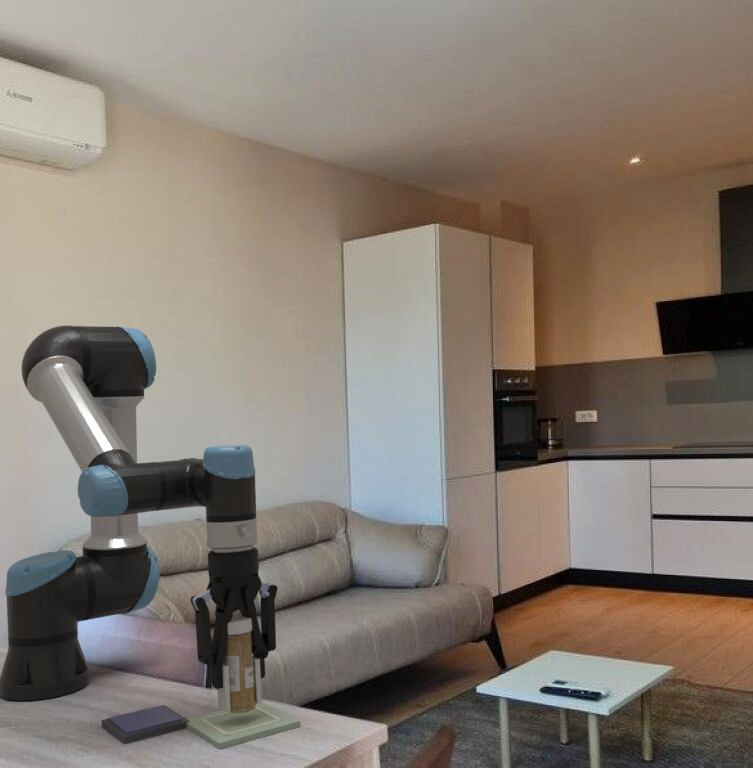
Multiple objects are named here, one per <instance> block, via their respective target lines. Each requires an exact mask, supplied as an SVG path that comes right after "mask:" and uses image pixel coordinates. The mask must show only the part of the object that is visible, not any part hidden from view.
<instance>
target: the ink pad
mask: <svg viewBox="0 0 753 768" xmlns="http://www.w3.org/2000/svg"><path fill="white" fill-rule="evenodd" d="M188 719H189V718H186V717H185V716H183V715H182V714H180V713H178V712H177V711H175V710H173V709H171V708H170V707H169V706H167V705H165V704H161V705H156V706H152V707H149V708H144V709H141V710H140V709H139V710H136V711H131V712H128V713H123V714H118V715H115V716H110V717H109V718H104V719H101V727H102V728H103V729H104V730H105V731H107V732H108V733H110V735H112V736H113V737H115V738H116V739H117V740H119V742H121V743H122V744H123V745H127V744H131V743H134V742H138V741H143V740H145V739H150V738H153V737H154V738H155V737H157V736H161V735H164V734H169V733H173V732H177V731H180V730H181V731H182V730H185V729H187V726H186V723H187V722H189V720H188Z"/></svg>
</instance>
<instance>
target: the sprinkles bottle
mask: <svg viewBox="0 0 753 768" xmlns="http://www.w3.org/2000/svg"><path fill="white" fill-rule="evenodd" d="M251 630H252V619H251V618H247V617H244V616H242V615H235V616H232V619H231V620H230V622H229V623H228V638H227V645H226V651H225V658H224V664H225V665H228V666H229V683H230V705H231V711H228V712H230V713H245V712H249V711H251V710H253V709H254V708H255V705H256V703H255V698H254V675H253V654H252V644H251Z"/></svg>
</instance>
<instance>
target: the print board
mask: <svg viewBox="0 0 753 768" xmlns="http://www.w3.org/2000/svg"><path fill="white" fill-rule="evenodd" d="M187 719H188V720H189V722H187V723H186V726H187V728H186V729H188V730H189V731H191V732H192V733H194V734H195V735H197V736H199V737H200V738H202V739H203V740H205V741H206V742H207V743H209V744H211V745H213V746H214V747H216V748H217V749H219V750H222V749H224V748H225V749H226V748H229V747H233V746H236V745H239V744H242V743H246V742H247V743H248V742H250V741H253V740H257V739H261V738H264V737H268V736H271V735H275V734H277V733H281V732H285V731H289V730H293V729H296V728H298V727H299V728H301V725H302V724H301V720H300V719H298V718H295V717H294V716H292V715H290V714H287V713H286V712H285V711H284V712H283V711H282V710H280V709H277V708H275V707H274V706H271V705H269V704H267V703H265V702H263V701H262V703H259V704H257V703H256V705H255V708H254V709H253V710H251V711H249V712H245V713H230V712H225V711H223V710H222V709H219V710H216V711H213V712H210V713H209V712H208V713H204V714H202V715H198V716H193V717H189V718H187Z"/></svg>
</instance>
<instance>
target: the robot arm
mask: <svg viewBox="0 0 753 768" xmlns="http://www.w3.org/2000/svg"><path fill="white" fill-rule="evenodd" d="M156 374H157V361H156V355H155V351H154V348H153V345H152V343H151V341H150V340H149V338H148V336H147V335H146V334H145V333H144V332H143V331H141V330H140V329H137V328H134V327H133V328H131V327H124V326H89V325H88V326H87V325H86V326H85V325H79V326H78V325H76V326H75V325H58V326H54V327H52V328H49V329H47V330H44V331H43V332H42V333H40V334H39V335H38V336H36V337H35V338H34V339H33V340H32V341H31V343H30V344H29V346H28V347H27V348H26V350H25V352H24V355H23V358H22V361H21V377H22V380H23V384H24V385H25V386H24V387H25V388H26V390H27V392H28V393H29V395H30V396H31V397H32V398H33V399H34V400H36V401H38V402H40V403H41V404H42V405H43V406H44V408H45V410H46V413H48V415H49V417H50V418H51V421H52V422H53V424H54V426H55V427H56V429H57V431H58V433H59V434H60V436H61V438H62V440H63V441H64V443H65V445H66V446H67V449H68V450H69V451H70V454H71V455H72V457H73V459H74V461H75V462H76V464H77V466H78V468H79V469H80V471H81V473H80V475H79V478H78V481H77V496H78V499H79V504H80V505H79V506H80V507H81V509H82V511H83V512H84V513H85V514H86V515H87V516H89V517H90V536H89V537H88V538H87V539H86V540H85V541H84V542H83V543H82V555H81V556H76V554H75V552H74V551H73V550H70V549H69V550H66V549H65V550H64V549H62V550H56V551H52V552H51V551H48V552H44V553H39V554H36V555H31V556H29V557H26V558H23V559H20V560H18V561H16V562H14V563H13V564H12V565H10V566H9V568H8V570H7V571H6V581H5V582H6V584H5V586H6V587H5V591H4V592H5V595H6V612H7V613H6V615H7V637H8V638H7V641H8V642H7V643H8V648H7V653H6V656H5V659H4V663H3V666H2V670H1V672H0V698H2V699H5V700H7V701H8V700H9V701H25V702H26V701H38V700H46V699H51V698H57V697H60V696H65V695H68V694H71V693H74V692H77V691H79V690H81V689H84V688H85V687H87V685H89V684H90V681H91V676H90V668H89V665H88V663H87V660H86V656H85V655H84V652H83V651H84V650H83V649H82V647H81V644H80V640H79V634H78V633H79V632H78V623H79V622H83V621H89V620H94V619H100V618H105V617H106V618H107V617H110V616H116V615H121V614H122V615H128V614H130V613H131V612H134V611H138V610H139V611H140V610H142V609H145V608H146V607H148V606H149V605H150V604H151V603H152V601H153V600H154V598H156V597H155V596H156V595H157V591H158V588H159V585H160V584H159V583H160V582H159V581H160V574H161V573H160V571H161V570H160V564H159V562H158V556H157V554H156V552H155V551H154V550H153V549H152V548H151V547H148V545H147V541H148V540H147V539H146V538H145V537H144V536H143V535H141V534H140V532H139V514H142V513H148V512H155V511H156V512H158V511H169V510H176V509H184V508H195V507H196V508H197V507H203V508H205V520H206V524H205V525H206V547H207V548H208V549H211V550H210V551H208V553H207V565H208V566H207V569H208V579H209V582H208V585H207V587H206V591H204V592H202V593H201V594H199V595H193V596H191V597H190V604H191V605H192V607H193V608H192V609H193V610H194V613H195V614H194V617H195V618H194V619H195V632H196V633H195V634H196V650H197V651H196V652H197V653H196V654H197V661H198V662H200V663H201V664H204V665H207V666H210V673H211V674H210V678H211V679H210V680H211V686H212V688H214V689H215V690H217V693H216V694H217V708H218V709H219V710H223V711H225V712H228V711H231V705H230V683H229V666H228V665H225V664H224V658H225V651H226V645H227V638H228V623H229V622H230V620H231V619H232V617H234V616H233V615H234V613H235V612H237V611H239V613H240V614H241V616H244V617H247V618H251V619H252V630H251V644H252V656H253V675H254V698H255V703H257V704H259V703H262V702H263V696H262V679H265V677H266V664H265V663H266V661H265V660H266V659H267V658H268V656H269V652H273V651H275V650H276V648H277V637H276V635H277V631H276V609H275V608H276V607H275V605H276V604H275V599H276V598H277V597H276V596H277V593H278V586H277V585H275V584H271V583H265V582H262V580H261V578H260V576H259V570H260V560H259V559H260V558H259V549H258V548H257V547H255V545H257V544H258V541H259V540H258V524H257V523H258V522H257V501H256V500H257V498H256V497H257V496H256V495H257V493H256V467H255V465H254V463H255V462H254V454H253V453H254V452H253V449H252V447H250V446H249V445H246V444H245V445H244V444H239V445H219V446H209V447H206V449H205V450H204V452H203V457H202V458H197V457H196V458H195V457H190V458H181V459H179V460H178V459H177V460H176V459H175V460H166V461H151V462H139V463H138V443H137V442H138V441H137V439H138V438H137V437H138V436H137V435H138V434H137V431H138V428H137V407H138V405H139V404H140V403H141V402H142V401H143V399H145V390H147V389H148V388H150V387H151V386H152V385H153V384H154V382H155V376H156ZM258 595H259V597H260V598H259V599H260V602H259V604H260V605H259V606H260V607H259V608H260V624H259V621H258V617H257V607H256V603H255V599H256V598H257V596H258ZM211 600H212V601H213V602H214V604H215V612H214V617H215V621H214V628H213V634H212V632H211V617H210V610H209V607H210V606H211ZM211 635H212V636H211Z"/></svg>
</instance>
